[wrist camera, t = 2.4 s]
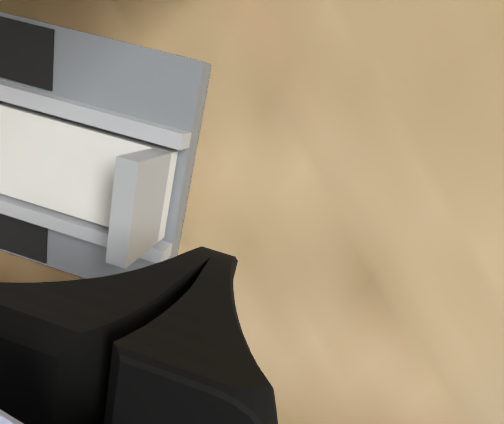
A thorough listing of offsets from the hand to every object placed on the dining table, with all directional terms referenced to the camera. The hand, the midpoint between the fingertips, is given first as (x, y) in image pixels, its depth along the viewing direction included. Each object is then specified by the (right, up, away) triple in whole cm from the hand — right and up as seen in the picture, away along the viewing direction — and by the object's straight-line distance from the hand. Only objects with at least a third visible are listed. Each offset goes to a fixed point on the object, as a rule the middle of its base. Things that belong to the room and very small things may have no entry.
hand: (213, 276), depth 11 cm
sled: (-13, +6, +8) cm, 17 cm away
